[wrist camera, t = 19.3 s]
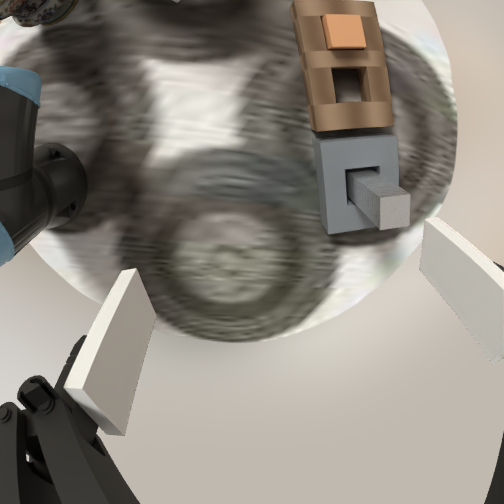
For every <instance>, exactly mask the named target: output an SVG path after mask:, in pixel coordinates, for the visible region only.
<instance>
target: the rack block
mask: <svg viewBox="0 0 504 504" xmlns="http://www.w3.org/2000/svg"><path fill="white" fill-rule="evenodd" d="M313 147H314V155H315V164H316V173H317V182H318V192H319V203H320V214H321V223H322V224H323V226H324V228H325V229H326V231H327V233H328V234H334V233H341V232H347V231H354V230H360V229H366V228H373V227H377V226H376V225H375V224H374V223H373V222H372V221H371V220H370V219H369V218H368V217H367V216H366V215H365V214H364V213H363V211H362V210H361V209H360V208H359V207H358V206H357V205H356V204H355V203H354V202H353V201H352V200H351V199H350V198H349V197H348V196H347V195H346V180H345V169H352V168H362V167H368V168H370V169H372V170H373V171H375V172H377V173H378V174H380V175H381V176H383V177H385V178H386V179H388V180H389V181H391V182H393V183H394V184H396V185H397V186H399V167H398V143H397V137H396V136H393V135H390V134H386V133H369V134H355V135H343V136H332V137H322V138H313Z"/></svg>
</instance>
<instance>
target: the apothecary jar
mask: <svg viewBox="0 0 504 504" xmlns="http://www.w3.org/2000/svg"><path fill="white" fill-rule="evenodd" d="M77 1H78V0H0V20H3V19H5V18H7V17H9V16H12V17H13V19H14V21H15V22H16V23H17V24H18V25H20V26H23V27H33V26H37V25H39V24H43V25H52V24H55V23H57V22H59V21H61V20H62V19H63V18H65V17H66V16H67V15H68V14H69V13H70V12H71V10H72V9H73V8H74V6H75V5H76V3H77Z"/></svg>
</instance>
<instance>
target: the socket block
mask: <svg viewBox="0 0 504 504" xmlns="http://www.w3.org/2000/svg"><path fill="white" fill-rule="evenodd" d="M290 11H291V16H292V21H293V25H294V30H295V35H296V40H297V45H298V51H299V56H300V61H301V67H302V73H303V78H304V84H305V91H306V97H307V103H308V110H309V117H310V124H311V129H312V130H314V131H317V132H319V131H329V130H339V129H352V128H366V127H386V126H393V114H392V104H391V95H390V87H389V79H388V72H387V66H386V59H385V53H384V48H383V42H382V37H381V32H380V27H379V23H378V18H377V14H376V10H375V5H374V2H368V1H354V0H294V1H293V3H292V5H291V7H290ZM325 14H345V15H360V17H361V22H362V27H363V31H364V36H365V42H366V47H365V48H362V49H359V50H332V51H327V47H326V42H325V37H324V32H323V27H322V22H321V18H322V17H323V16H324V15H325ZM331 69H357V72H358V79H359V86H360V93H361V101H358V102H339V103H336V98H335V91H334V84H333V78H332V72H331Z"/></svg>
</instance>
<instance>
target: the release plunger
mask: <svg viewBox="0 0 504 504" xmlns="http://www.w3.org/2000/svg"><path fill="white" fill-rule="evenodd" d="M321 22H322V27H323V32H324V37H325V42H326V47H327V51H332V50H359V49H362V48H365V47H366V42H365V36H364V31H363V27H362V22H361V17H360V15H345V14H325V15H324V16H323V17H322V18H321Z"/></svg>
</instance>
